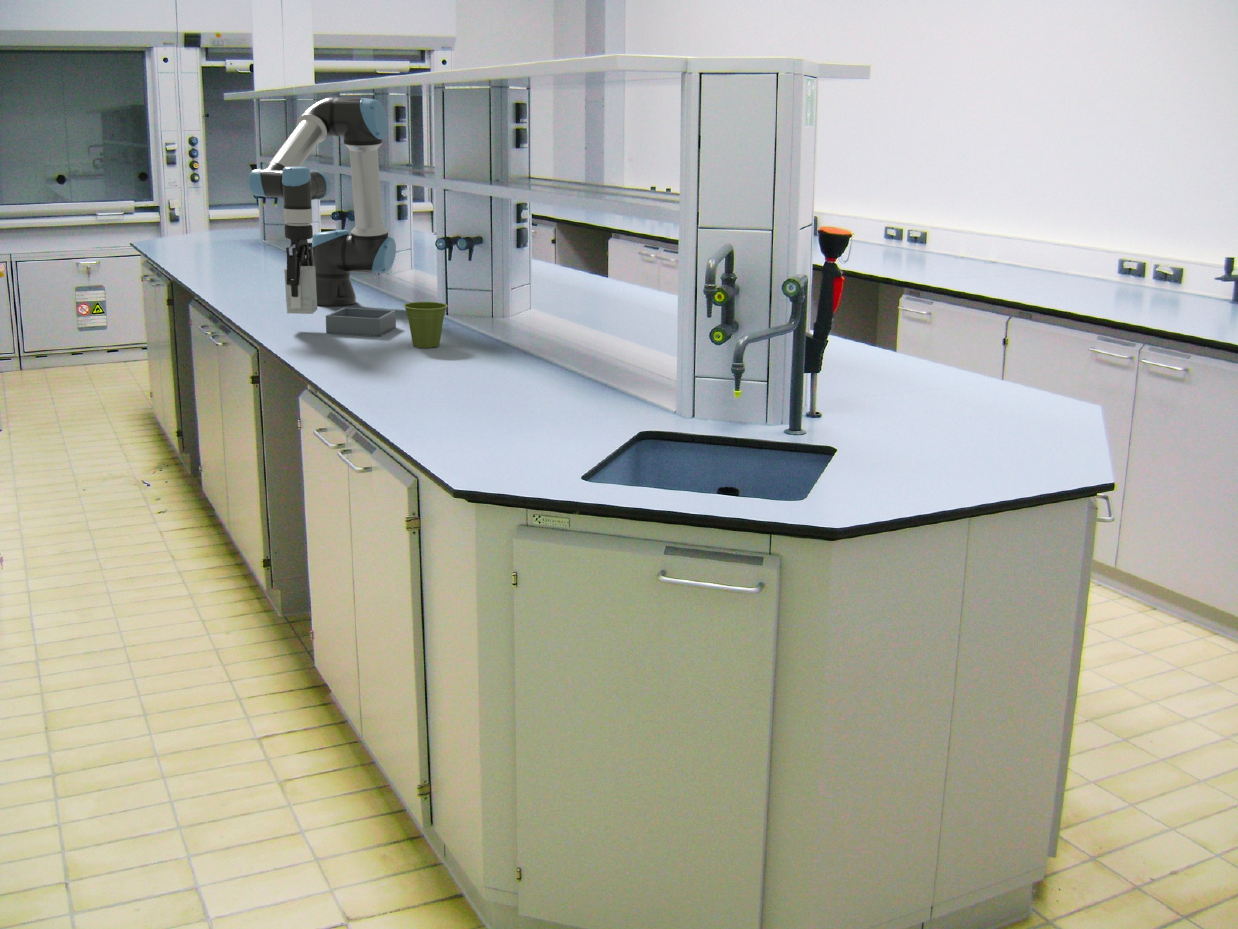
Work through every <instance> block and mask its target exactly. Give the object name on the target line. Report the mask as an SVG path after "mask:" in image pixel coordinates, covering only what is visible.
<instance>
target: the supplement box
mask: <svg viewBox="0 0 1238 929" xmlns="http://www.w3.org/2000/svg"><path fill="white" fill-rule="evenodd" d="M283 271H284V284H285V285H284V286H285V302H286V303H285V304H286V313H287V314H301V315H302V314H305V315H312V314H313V315H314V313H315V312H316V311H318V305H317V293H316V273H315V266H301V269H300V279H299V285H301V307H302V308H301V309H299V308H291V292H290V285H287V283H286V282H287V267H286V268H284V269H283Z"/></svg>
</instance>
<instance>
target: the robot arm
mask: <svg viewBox="0 0 1238 929" xmlns="http://www.w3.org/2000/svg"><path fill="white" fill-rule="evenodd" d="M295 126H296V127H295V128H294V130H293V131H292V132H291V133H290V135H289V136H288V138H287V139H286V140H285V141H284V143H283V144H282V146H281V147H280V148H279V149H278V150H277V152H276V153H275V155H274V156H273V157H272V159H271V160H270V161H269V163H268V164H267V165H266V166H265V168H264V169H262V168H257V169H255V168H254V169H252V170H251V172H250V173H249V174H248V187H249V190H250V192H251V194H252V195H253V196H256V197H264V198H281V199H282V198H283V211H282V215H284V216H283V217H284V223H285V225H284V238H285V239H288V240H290V246H289V247H286V248H285V252H286V268H287V282H286V283H287V285H290V292H291V308H299V309H301V308H302V307H301V285H299V279H300V269H301V266H315V273H316V293H317V306H328V307H329V306H330V307H332V306H334V307H337V306H339V307H340V306H350V305H354V304H356V303H357V299H356V298H357V296H356V292H355V290H354V287H353V284H352V281H351V275H350V273H365V274H373V275H376V274H387V273H388V272H389V271H390V270H391V269H392V267H393V264H394V262H395V259H396V252H397V245H396V241H395V239H394V238H393V237H392V236H389V230H388V228H386V227H385V226H384V225H383V210H382V209H383V208H382V194H381V181H380V180H381V179H380V166H379V165H380V164H379V151H378V149H379V148H380V146H382V144H383V139H385V138H387V135H388V129H389V120H388V115H387V112H386V109H385V107H384V105H383V103H381V102H380V101H379V100H377V99H375V98H367V97H338V96H330V97H325V98H323V99H320V100H318V101H316V102H315V103H313V104H312V105H310V106H309V107H307V108H306V109H305V110H304V111H303V112H302V113H301V115H300V116H298V118H297V121H296V125H295ZM329 137H338V138H339V137H340V138H343V145H344V146H345V147H346V148H348V150H349V161H350V162H349V163H350V173H351V174H350V175H351V176H350V177H351V185H352V186H351V188H352V200H353V214H354V224H355V226H354V227H353V228H352V230H351V231H349V230H348V229H340V230H339V229H338V230H328V231H320V232H316V233H314V232H313V225H312V223H313V206H312V201H313V200H314V201H315V200H322V199H324V198H325V197H327V196H328V195H329V194H330V193H331V189H332V183H331V182H332V181H331V179H330V178H329V176H328V175H327V174H326V173H324V172H322V171H311V170H310V168H309V167H307V166H302V165H303V164H304V162H305V161H306V159H307V158H308V157H309V155H310V154H311V153H312V152H313V151H314V149H315V148H316V146H317V145H318V144H320V143H322V142H324V141H325V140H326V138H329ZM313 233H314V234H313ZM310 239H311V242H310V241H308V240H310Z"/></svg>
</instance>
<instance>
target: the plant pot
mask: <svg viewBox="0 0 1238 929" xmlns="http://www.w3.org/2000/svg"><path fill="white" fill-rule="evenodd" d="M402 307H403V308H405V313H406V316H407V320H408V325H409V331H410V337H411V341H412V346H413V347H416V348H418V349H430V348H433V347H434V348H438V347H439V346H440V345H441V337H442V333H443V332H442V331H443V324H444V317H445V314H446V309H447V308H448V307H449V306H448V304H447V303H442V302H434V301H413V302H407V303H404V304H403V306H402Z"/></svg>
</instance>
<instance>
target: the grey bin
mask: <svg viewBox="0 0 1238 929" xmlns="http://www.w3.org/2000/svg"><path fill="white" fill-rule="evenodd" d="M396 312H397V311H396V310H393V309H391V310H390V309H373V308H361V307H360V308H359V307H358V308H357V307H342V308H340V309H338V310H335V311H334V312H330V313H329V314H327V315H325V334H329V335H330V334H333V335H344V336H345V335H348V336H363V337H364V336H365V337H382V336H384V335H386V334H387V333H389V332H390V331H393V330H394V329H396V327H397V313H396Z"/></svg>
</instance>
